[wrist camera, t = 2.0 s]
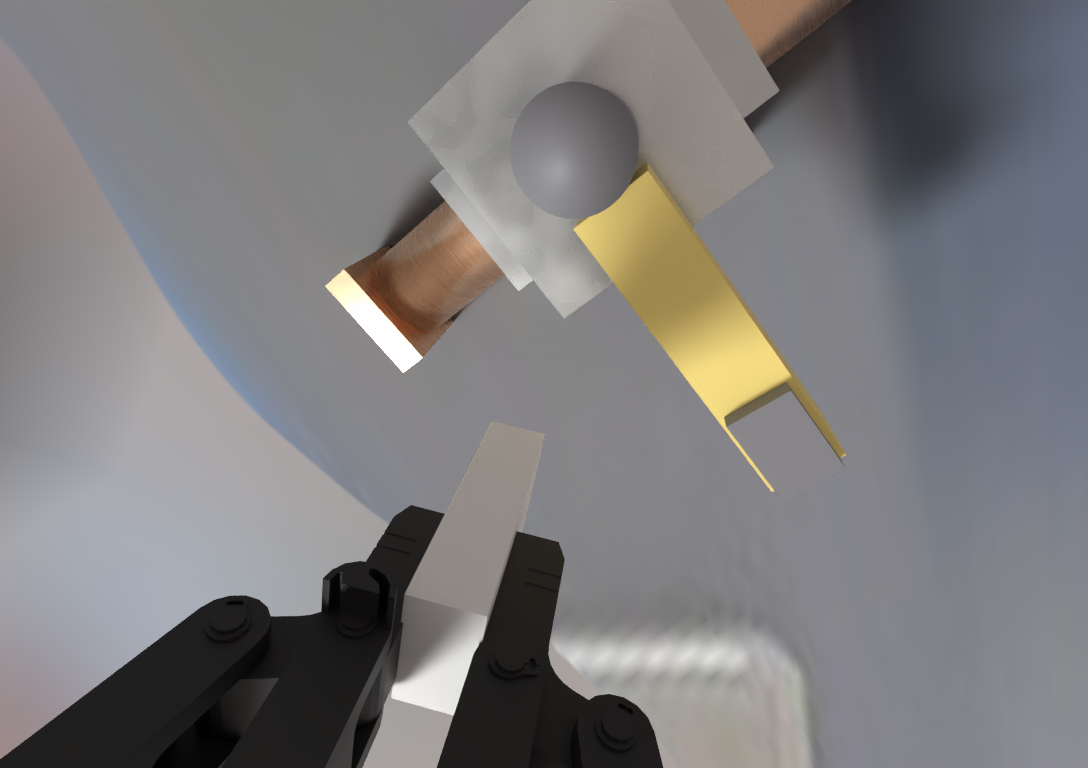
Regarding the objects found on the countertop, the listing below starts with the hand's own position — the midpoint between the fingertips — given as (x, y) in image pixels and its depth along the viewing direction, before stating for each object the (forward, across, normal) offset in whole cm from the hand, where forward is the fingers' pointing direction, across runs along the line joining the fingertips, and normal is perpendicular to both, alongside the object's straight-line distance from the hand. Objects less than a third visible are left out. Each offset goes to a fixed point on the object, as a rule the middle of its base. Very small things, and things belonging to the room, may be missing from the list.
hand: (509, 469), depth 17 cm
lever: (+6, +4, +5) cm, 8 cm away
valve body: (+14, 0, +8) cm, 16 cm away
